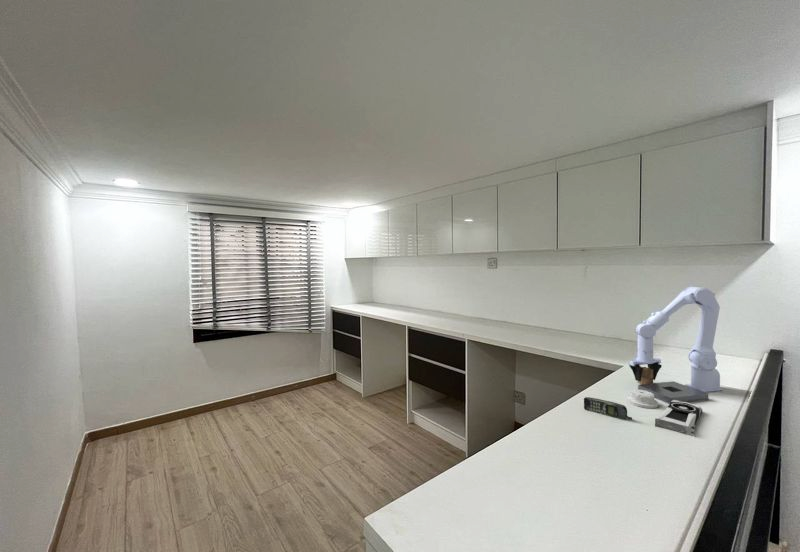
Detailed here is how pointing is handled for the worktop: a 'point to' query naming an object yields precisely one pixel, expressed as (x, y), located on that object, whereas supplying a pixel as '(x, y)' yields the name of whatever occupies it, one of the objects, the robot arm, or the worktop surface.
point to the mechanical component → (642, 399)
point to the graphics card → (680, 417)
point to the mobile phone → (605, 407)
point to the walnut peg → (646, 376)
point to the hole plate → (674, 392)
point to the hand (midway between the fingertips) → (645, 379)
